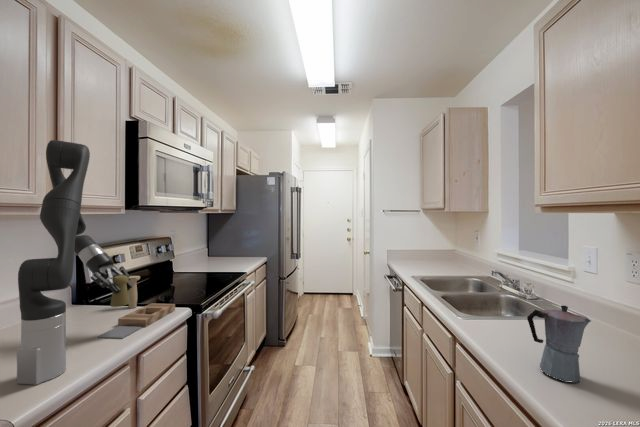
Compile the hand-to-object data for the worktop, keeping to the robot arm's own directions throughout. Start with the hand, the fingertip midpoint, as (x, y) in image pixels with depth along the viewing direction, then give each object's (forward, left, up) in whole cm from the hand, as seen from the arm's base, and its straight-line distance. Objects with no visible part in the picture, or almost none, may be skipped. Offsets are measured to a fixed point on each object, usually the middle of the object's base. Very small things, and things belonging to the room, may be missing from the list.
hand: (124, 290), depth 111 cm
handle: (+28, +19, -17) cm, 37 cm away
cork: (0, +2, -6) cm, 6 cm away
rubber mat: (0, +2, -16) cm, 16 cm away
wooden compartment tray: (+16, +2, -16) cm, 23 cm away
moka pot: (-16, -145, -17) cm, 147 cm away
